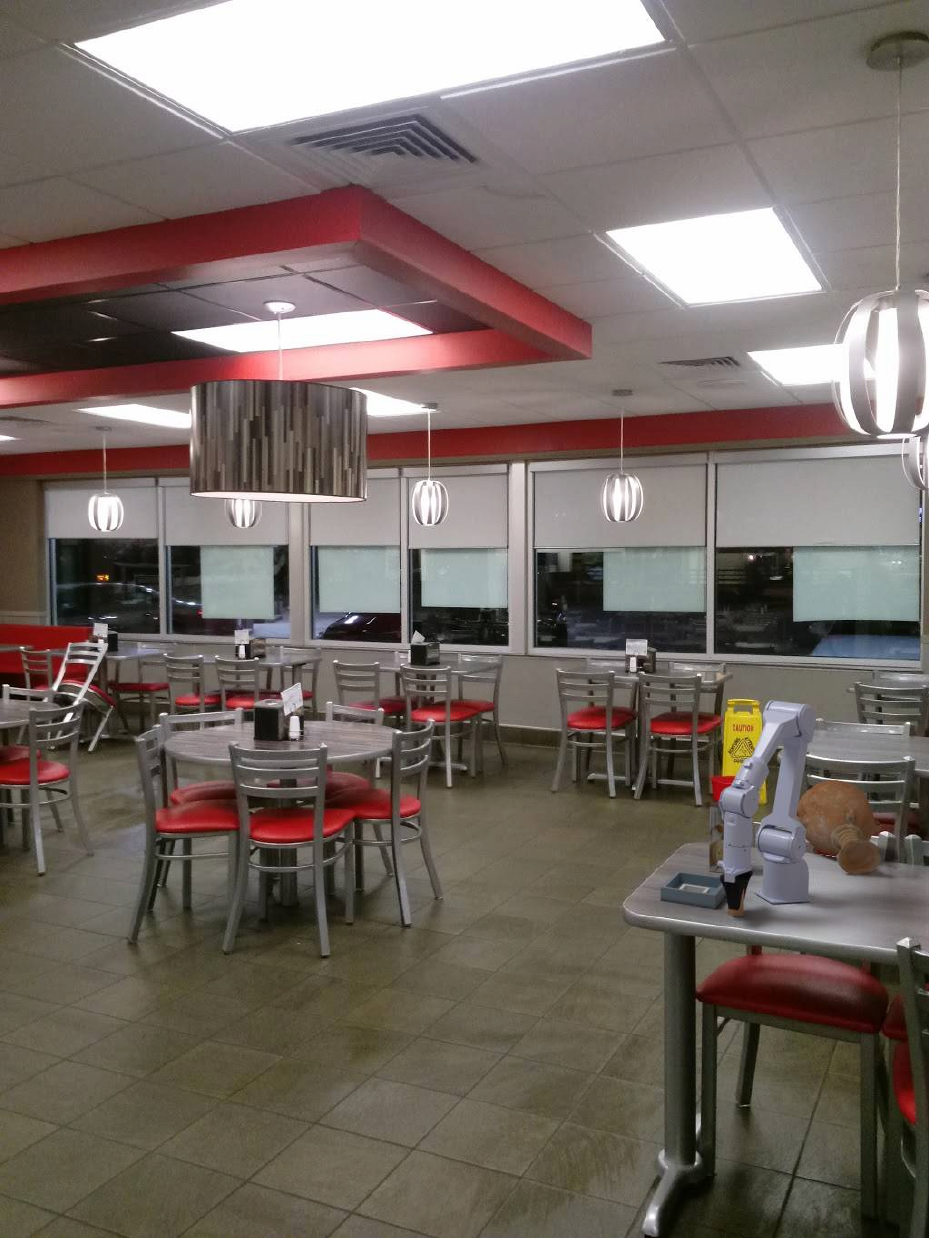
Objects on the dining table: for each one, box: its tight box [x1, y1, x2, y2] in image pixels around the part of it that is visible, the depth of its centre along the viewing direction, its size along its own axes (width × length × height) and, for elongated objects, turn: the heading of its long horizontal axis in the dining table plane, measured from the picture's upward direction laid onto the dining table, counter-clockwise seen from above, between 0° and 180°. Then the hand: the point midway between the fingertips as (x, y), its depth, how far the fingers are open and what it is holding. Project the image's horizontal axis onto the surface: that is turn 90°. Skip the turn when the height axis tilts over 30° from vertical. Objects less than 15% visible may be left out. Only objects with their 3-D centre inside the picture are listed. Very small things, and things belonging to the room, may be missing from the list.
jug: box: [796, 779, 882, 876], centre depth 262 cm, size 20×19×30 cm
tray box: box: [660, 870, 726, 910], centre depth 232 cm, size 14×12×3 cm
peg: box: [727, 890, 745, 918], centre depth 220 cm, size 3×3×7 cm
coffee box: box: [708, 801, 725, 874], centre depth 252 cm, size 9×6×16 cm
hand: (735, 906), depth 220 cm, fingers closed on peg, 3 cm apart
